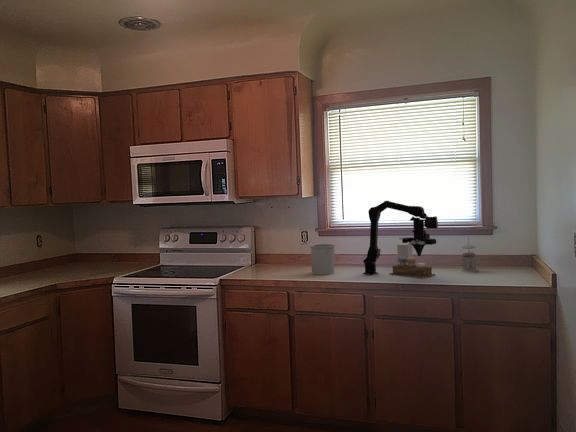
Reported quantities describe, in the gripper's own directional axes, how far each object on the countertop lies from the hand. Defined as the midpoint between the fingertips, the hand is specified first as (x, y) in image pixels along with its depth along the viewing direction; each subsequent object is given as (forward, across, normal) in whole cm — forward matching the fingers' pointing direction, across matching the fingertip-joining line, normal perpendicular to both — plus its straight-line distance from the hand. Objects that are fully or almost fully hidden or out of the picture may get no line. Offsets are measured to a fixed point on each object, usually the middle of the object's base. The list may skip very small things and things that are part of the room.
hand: (419, 256), depth 274 cm
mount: (+11, +5, 0) cm, 12 cm away
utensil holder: (+12, +52, +24) cm, 59 cm away
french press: (+11, -15, -30) cm, 35 cm away
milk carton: (+12, +21, -18) cm, 30 cm away
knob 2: (+10, -1, 0) cm, 10 cm away
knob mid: (+7, +5, 0) cm, 9 cm away
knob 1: (+7, +11, 0) cm, 13 cm away
